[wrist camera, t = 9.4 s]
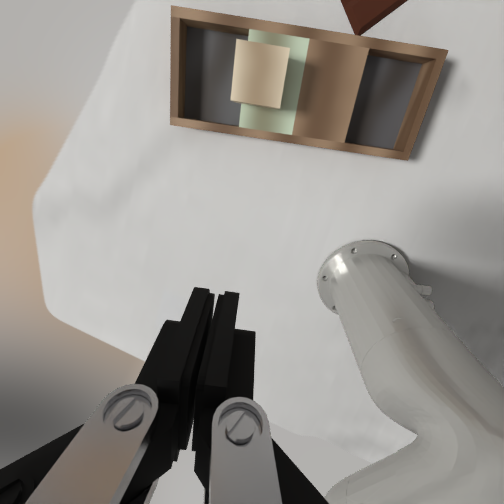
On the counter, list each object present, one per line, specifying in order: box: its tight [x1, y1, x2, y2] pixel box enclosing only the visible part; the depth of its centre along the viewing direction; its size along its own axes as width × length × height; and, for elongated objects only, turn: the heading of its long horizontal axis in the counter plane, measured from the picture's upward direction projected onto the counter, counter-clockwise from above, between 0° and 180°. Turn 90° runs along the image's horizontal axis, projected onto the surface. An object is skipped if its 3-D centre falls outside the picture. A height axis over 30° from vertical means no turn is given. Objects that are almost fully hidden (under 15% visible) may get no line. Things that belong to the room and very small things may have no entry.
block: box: [231, 39, 290, 109], centre depth 26 cm, size 4×4×4 cm
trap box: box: [170, 5, 448, 161], centre depth 29 cm, size 26×10×3 cm, turn 82°
